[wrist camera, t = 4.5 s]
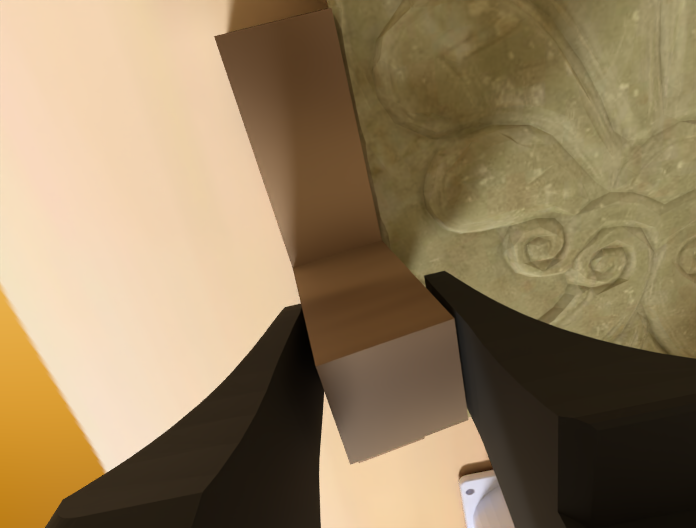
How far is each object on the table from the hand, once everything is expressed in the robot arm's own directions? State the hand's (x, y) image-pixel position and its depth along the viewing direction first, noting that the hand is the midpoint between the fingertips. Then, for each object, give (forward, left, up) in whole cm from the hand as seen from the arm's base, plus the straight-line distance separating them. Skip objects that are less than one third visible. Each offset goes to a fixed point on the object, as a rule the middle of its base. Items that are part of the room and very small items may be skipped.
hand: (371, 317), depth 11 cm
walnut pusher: (0, +1, -5) cm, 5 cm away
